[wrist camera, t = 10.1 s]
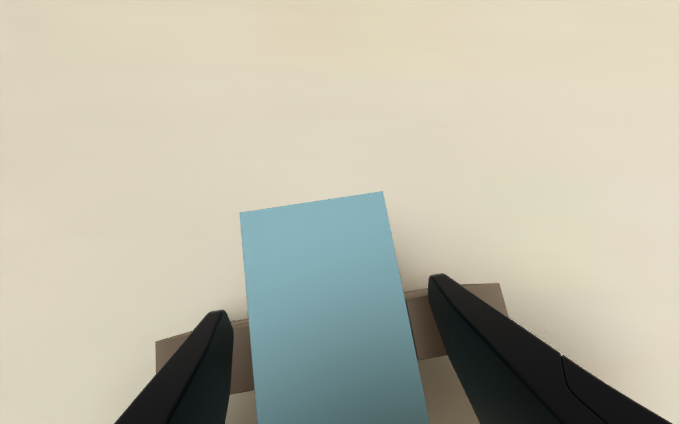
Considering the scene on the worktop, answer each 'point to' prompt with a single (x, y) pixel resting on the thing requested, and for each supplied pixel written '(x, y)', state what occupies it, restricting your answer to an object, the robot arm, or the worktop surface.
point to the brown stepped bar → (419, 319)
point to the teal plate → (329, 315)
